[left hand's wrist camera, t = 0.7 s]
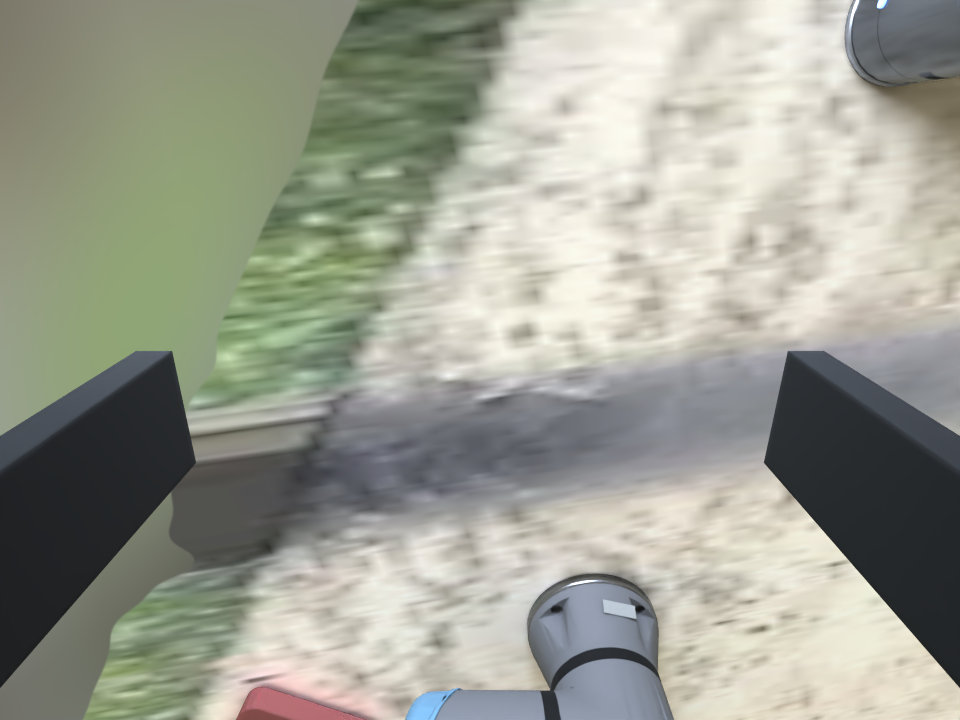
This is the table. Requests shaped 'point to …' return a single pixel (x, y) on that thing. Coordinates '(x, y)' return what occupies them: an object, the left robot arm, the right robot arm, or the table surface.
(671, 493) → the table surface
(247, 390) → the table surface
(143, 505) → the left robot arm
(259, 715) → the plaque
